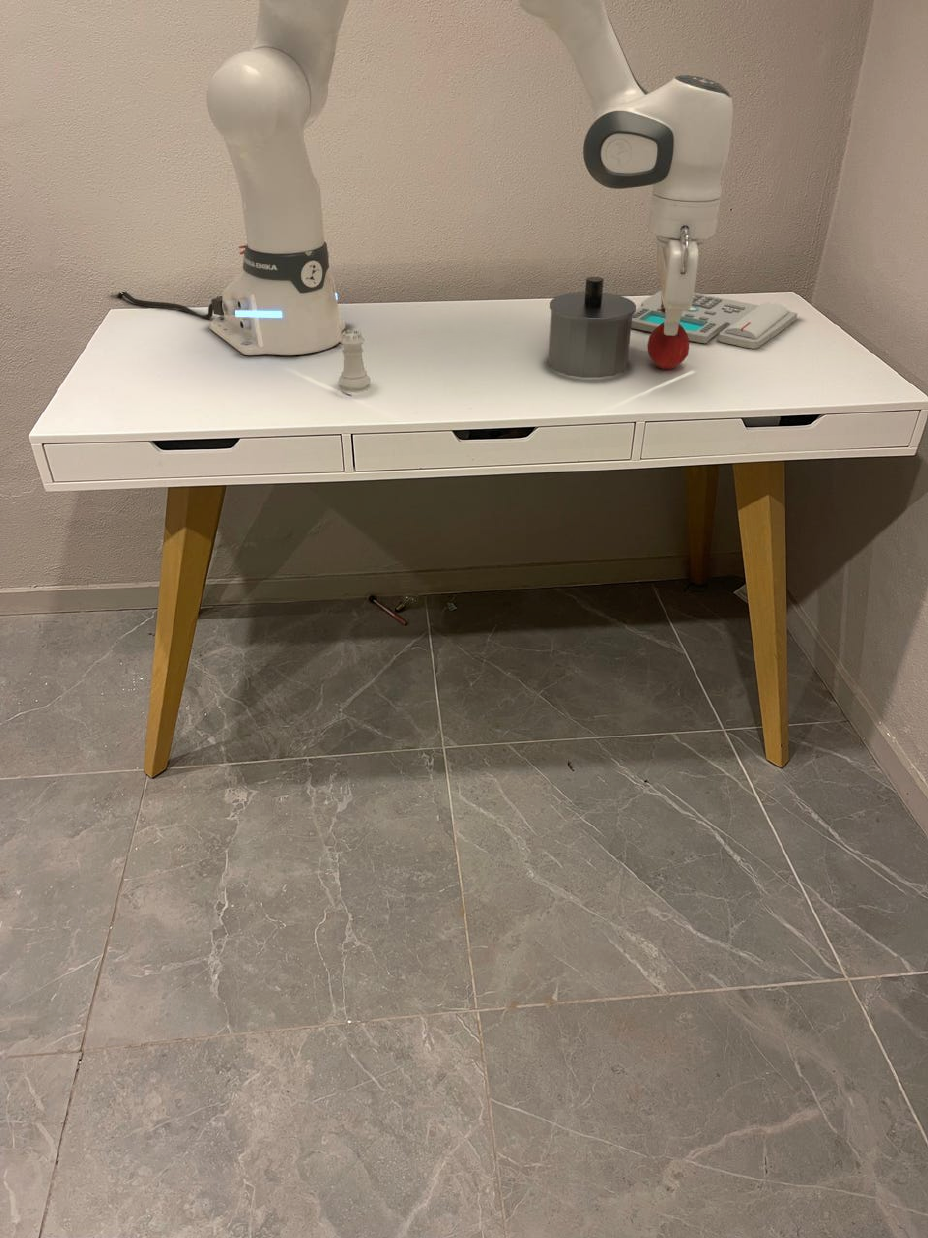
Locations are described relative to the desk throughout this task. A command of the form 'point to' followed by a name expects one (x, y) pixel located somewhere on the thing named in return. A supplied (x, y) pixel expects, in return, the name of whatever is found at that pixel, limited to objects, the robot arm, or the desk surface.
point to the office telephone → (720, 320)
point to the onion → (668, 347)
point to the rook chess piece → (353, 364)
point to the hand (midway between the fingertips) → (668, 322)
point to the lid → (593, 304)
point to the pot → (589, 346)
